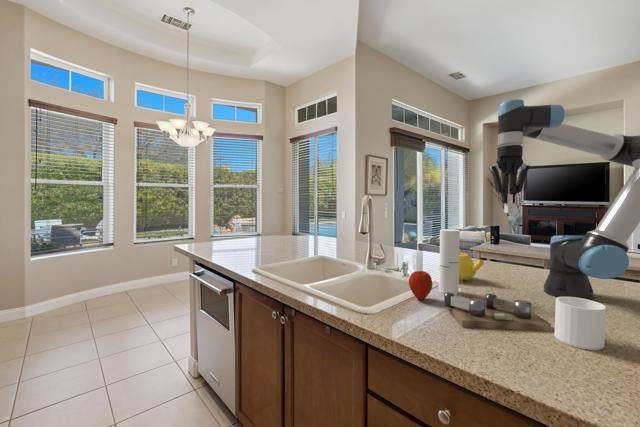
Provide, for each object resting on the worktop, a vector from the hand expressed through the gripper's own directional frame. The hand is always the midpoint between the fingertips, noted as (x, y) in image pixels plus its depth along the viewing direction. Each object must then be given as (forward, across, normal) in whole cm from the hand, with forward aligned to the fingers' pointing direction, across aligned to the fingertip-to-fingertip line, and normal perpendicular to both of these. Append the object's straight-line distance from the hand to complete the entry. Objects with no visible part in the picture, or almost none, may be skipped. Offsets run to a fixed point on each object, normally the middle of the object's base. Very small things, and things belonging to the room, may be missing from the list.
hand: (508, 212), depth 109 cm
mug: (+33, -5, +29) cm, 44 cm away
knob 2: (+30, +7, +16) cm, 35 cm away
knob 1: (+30, +20, +16) cm, 40 cm away
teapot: (+33, +6, -29) cm, 44 cm away
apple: (+33, +30, 0) cm, 44 cm away
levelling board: (+32, +11, +17) cm, 38 cm away
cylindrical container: (+33, +17, -10) cm, 38 cm away
